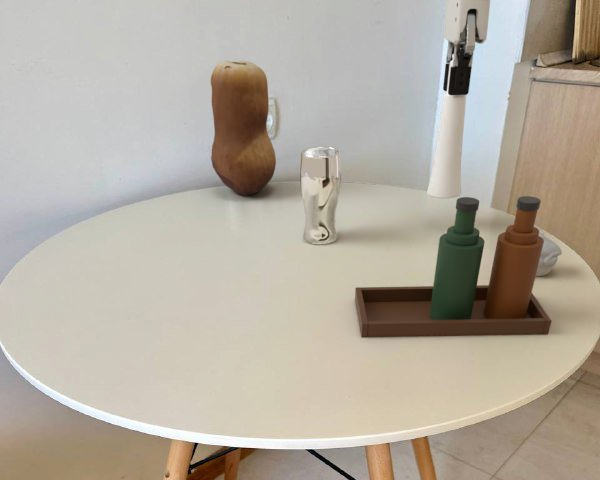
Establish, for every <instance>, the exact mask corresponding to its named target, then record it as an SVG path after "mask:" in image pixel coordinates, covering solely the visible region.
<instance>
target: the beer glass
mask: <svg viewBox="0 0 600 480" xmlns="http://www.w3.org/2000/svg"><path fill="white" fill-rule="evenodd" d="M341 160H342V159H341V150H340V149H339V148H337V147H332V146H312V147H306V148H304V149H302V150H301V153H300V168H299V169H300V172H299V173H300V174H299V178H300V179H299V181H300V191H301V197H302V198H301V199H302V203H303V209H304V216H305V217H304V218H305V224H304V230H303V240H304V241H305V242H306V243H308V244H311V245H321V246H322V245H329V244H332V243H334V242H336V241H337V239H338V233H337V227H336V213H337V208H338V204H339V197H340V192H341V186H342V185H341V184H342V162H341Z"/></svg>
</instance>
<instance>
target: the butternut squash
mask: <svg viewBox="0 0 600 480" xmlns="http://www.w3.org/2000/svg"><path fill="white" fill-rule="evenodd" d="M210 87H211V109H212V116H213V128H214V136H213V143H212V145H211V146H212V147H211V156H210V160H211V165H212V168H213V170H214V172H215V173H216V175H217V176H218V177H219V179H220V180H221V182H222V183H223V184H224V185H225V186H226V187H227V188H229V189H230V190H232V191H233V192H234V193H235V194H237V195H240V196H244V197H247V196H250V195H252V194H254V193H258V192H260V191H261V190H263V189H264V188H265V187H266V186H267V185H268V183H270V181H271V180H272V178H273V176H274V174H275V171H276V163H277V161H276V160H277V159H276V152H275V148H274V145H273V143H272V140H271V139H270V136H269V133H268V129H267V123H268V118H269V117H268V116H269V109H270V108H269V88H268V77H267V75H266V73H265V71H264V70H263V69H262V68H261V67H260V66H259V65H257V64H256V63H253V62H251V61H247V60H238V61H237V60H236V61H230V60H222V61H220V62H218V63H217V64H216V65H215V66H214V68H213V71H212V73H211V76H210Z"/></svg>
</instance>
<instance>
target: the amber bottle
mask: <svg viewBox="0 0 600 480" xmlns="http://www.w3.org/2000/svg"><path fill="white" fill-rule="evenodd" d="M541 202H542V200H541V199H540V198H538V197H536V196H529V195H523V196H519V197H518V198H517V201H516V212H515V215H514V216H515V217H514V222H513V224H510V225H508V226H507V227H506V228H505V231H504V232H501V233H499V235H498V236H497V241H496V244H495V245H496V246H495V251H494V256H493V261H492V267H491V271H490V277H489V282H488V285H489V286H488V292H487V297H486V302H485V307H484V312H483V313H484V316H485V317H486V318H487V319H524V318H526V314H527V309H528V305H529V301H530V297H531V293H532V294H533V288H534V284H535V281H536V277H537V276H536V272H537V268H538V264H539V260H540V256H541V252H542V248H543V244H544V240H543V238H541V237H540V236H539V232H540V230H539V229H538V228H537V227H536V226H535V223H536V219H537V214H538V210H540V207H541Z"/></svg>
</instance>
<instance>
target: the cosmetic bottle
mask: <svg viewBox="0 0 600 480" xmlns="http://www.w3.org/2000/svg"><path fill="white" fill-rule="evenodd" d="M452 58H453V59H454V54H452ZM451 67H453V60H452V61H450V65H449V75H448V85H447V91H446V93H445V94H444V95H443V98H442V105H441V111H440V116H439V124H438V131H437V139H436V145H435V153H434V159H433V163H432V169H431V174H430V179H429V184H428V187H427V190H426V193H427V195H428V196H430V197H432V198H436V199H454V198H455V199H456V198H459V197H460V196H461V195H462V153H463V141H464V129H465V116H466V102H467V95H449V94H448V88H449V79H450V69H451Z"/></svg>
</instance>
